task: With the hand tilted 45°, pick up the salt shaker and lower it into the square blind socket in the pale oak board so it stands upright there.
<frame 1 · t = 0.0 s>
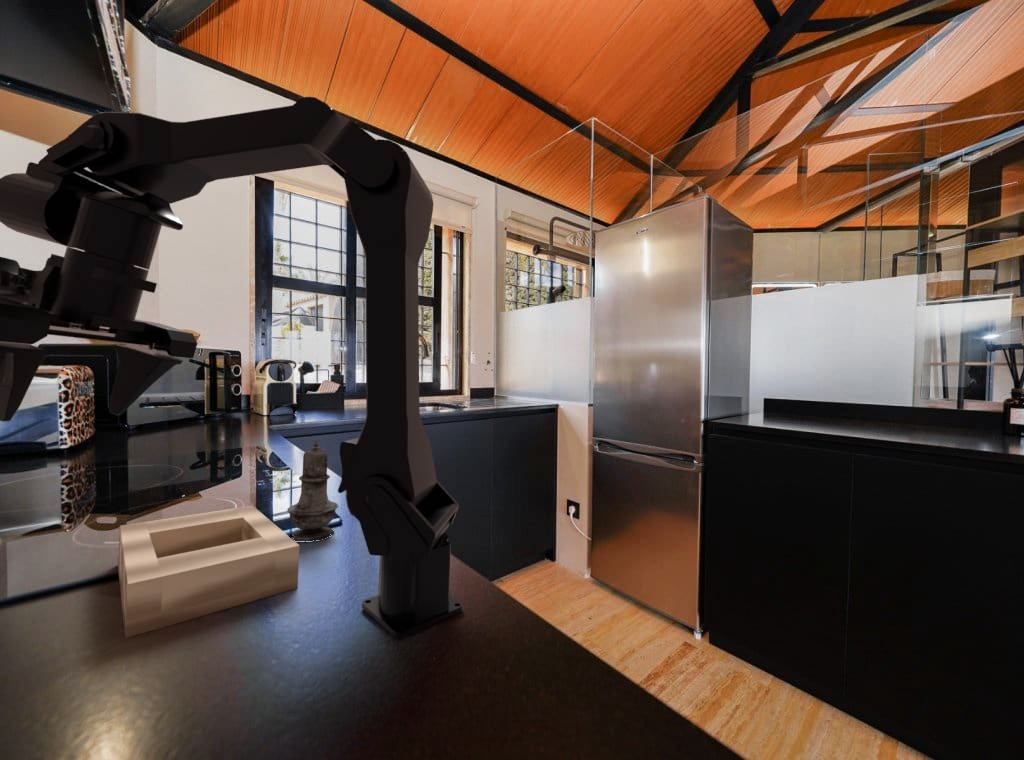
hand: (64, 416, 40), 15 cm above the countertop, tool pointing down, fingers open, 9 cm apart
salt shaker: (312, 536, 53), on the countertop
socket board: (203, 575, 41), on the countertop
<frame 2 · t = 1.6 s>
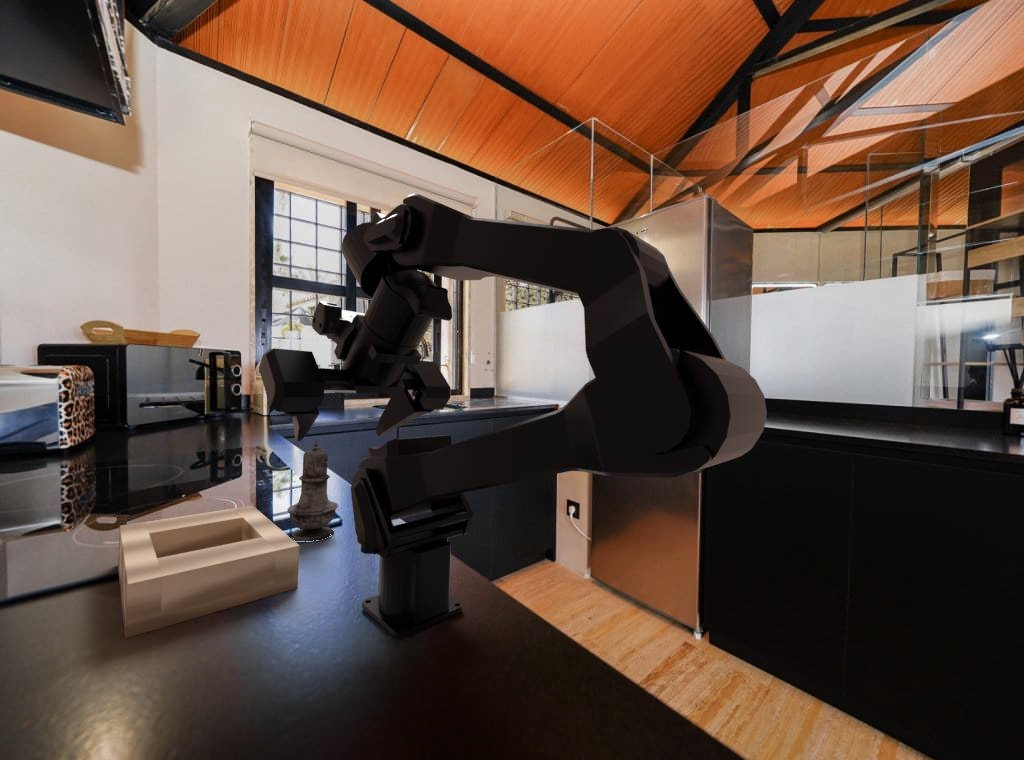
hand: (340, 435, 47), 14 cm above the countertop, tool tilted 45°, fingers open, 9 cm apart
nothing on the countertop moved.
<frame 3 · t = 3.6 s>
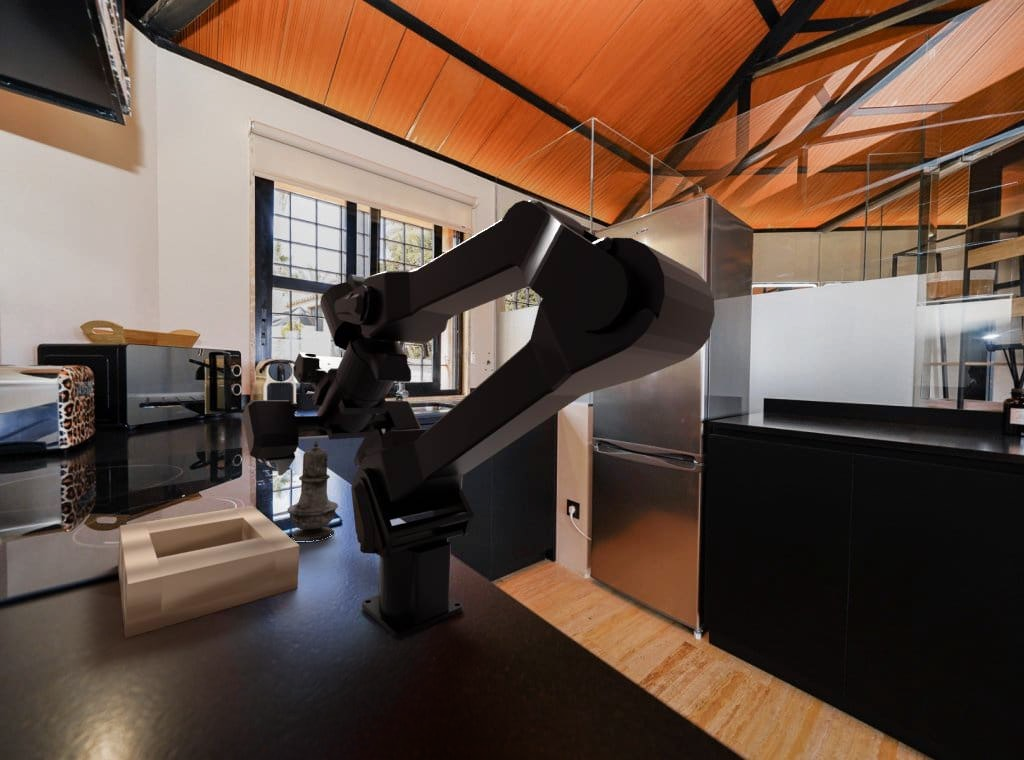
hand: (319, 467, 52), 9 cm above the countertop, tool tilted 45°, fingers open, 9 cm apart
nothing on the countertop moved.
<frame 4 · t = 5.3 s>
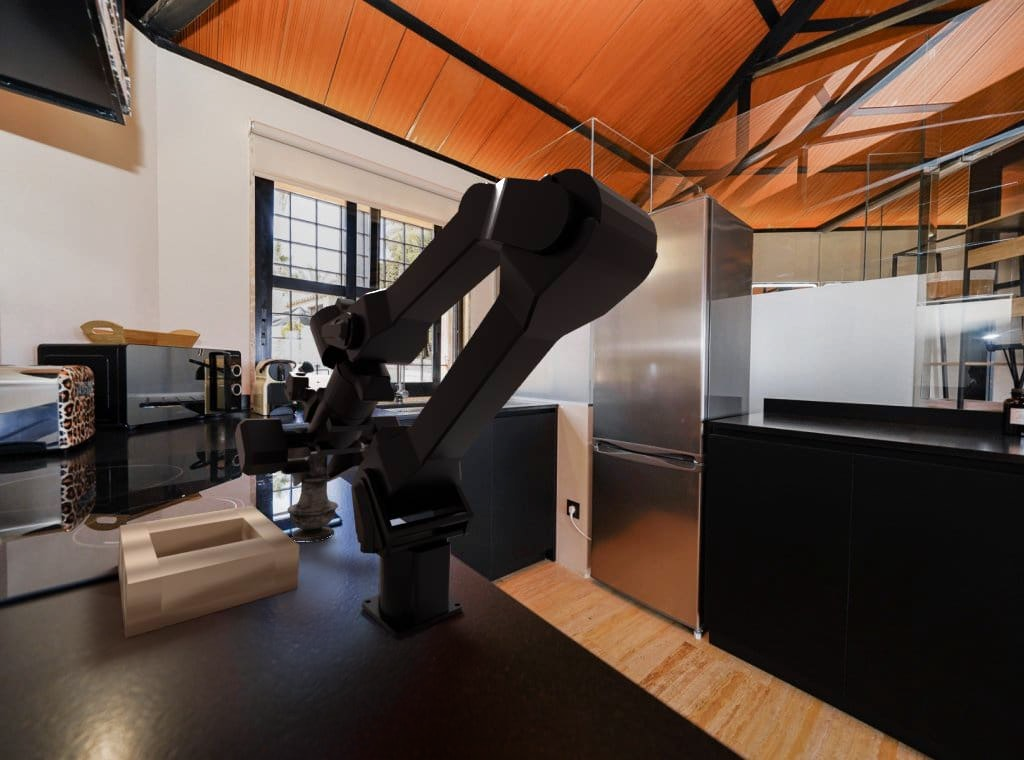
hand: (310, 481, 54), 7 cm above the countertop, tool tilted 45°, fingers closed on salt shaker, 4 cm apart
salt shaker: (312, 536, 53), on the countertop, touching gripper
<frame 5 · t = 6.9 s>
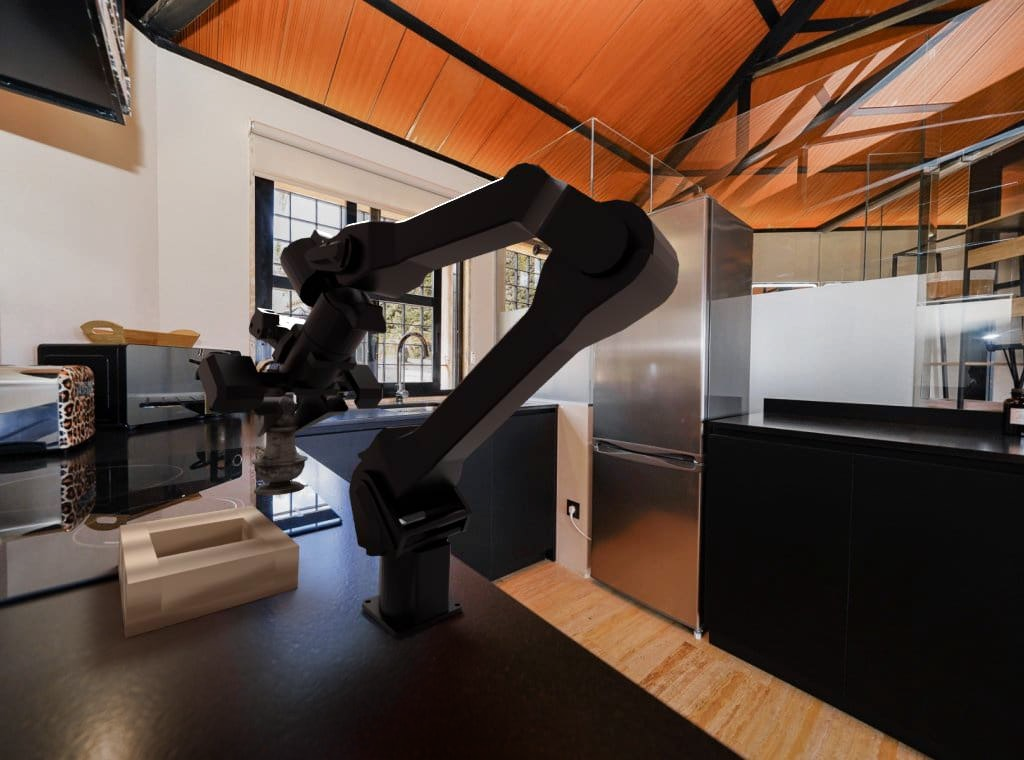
hand: (274, 432, 50), 13 cm above the countertop, tool tilted 45°, fingers closed on salt shaker, 4 cm apart
salt shaker: (279, 491, 50), point 6 cm above the countertop, touching gripper
when the fingers open (9 cm above the countertop, at t = 8.9 s): salt shaker drops 1 cm, resting on socket board.
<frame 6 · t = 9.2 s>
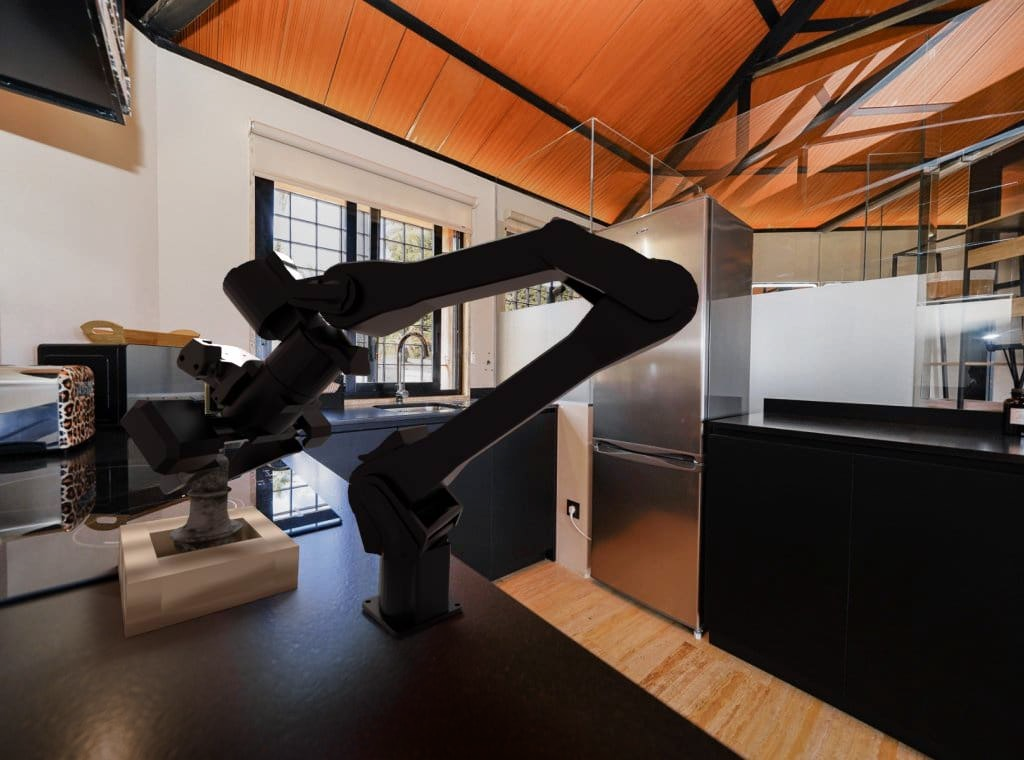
hand: (196, 482, 42), 9 cm above the countertop, tool tilted 45°, fingers open, 6 cm apart
salt shaker: (205, 567, 41), point 1 cm above the countertop, touching socket board
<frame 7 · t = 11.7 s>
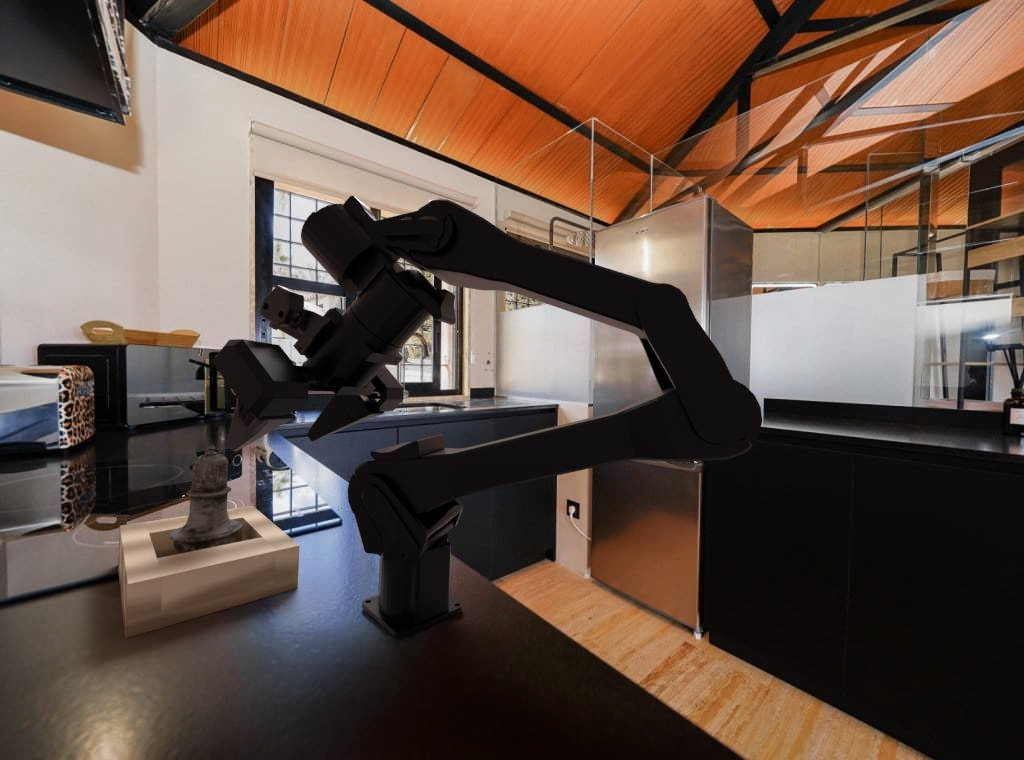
hand: (274, 442, 40), 14 cm above the countertop, tool tilted 45°, fingers open, 9 cm apart
nothing on the countertop moved.
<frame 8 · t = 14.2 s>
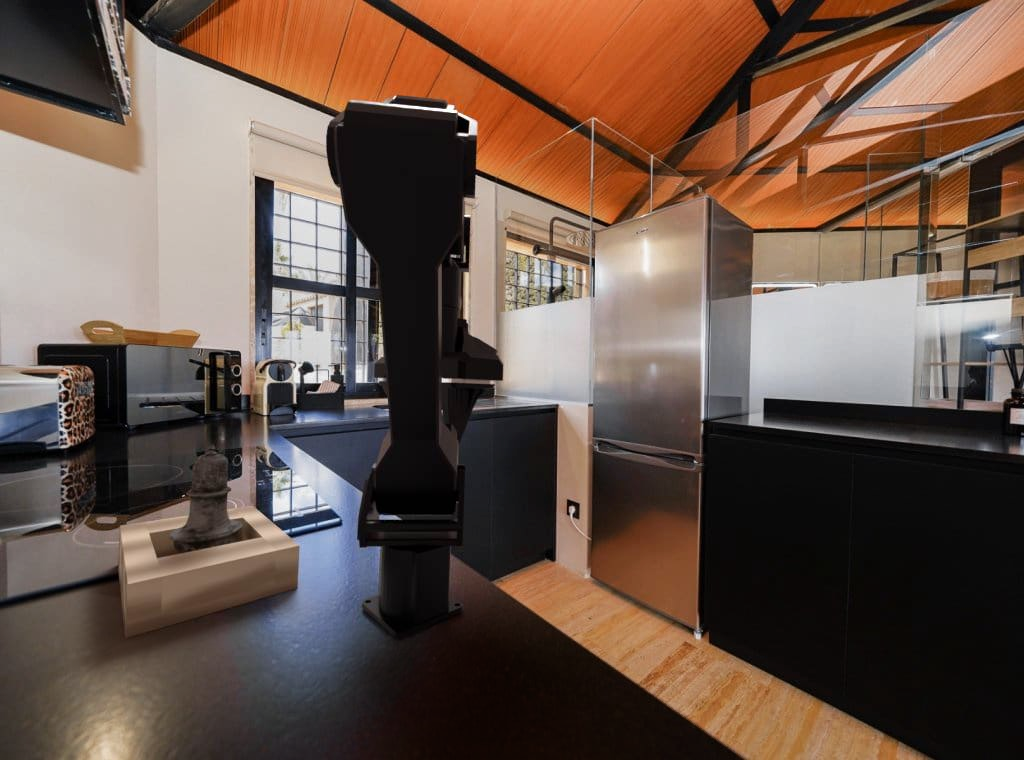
hand: (430, 441, 49), 13 cm above the countertop, tool pointing down, fingers open, 9 cm apart
nothing on the countertop moved.
at the end: salt shaker 0.1 cm off-centre on the socket board, point 0.8 cm above the socket board's base; salt shaker tilted 0°; the gripper is holding nothing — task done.
